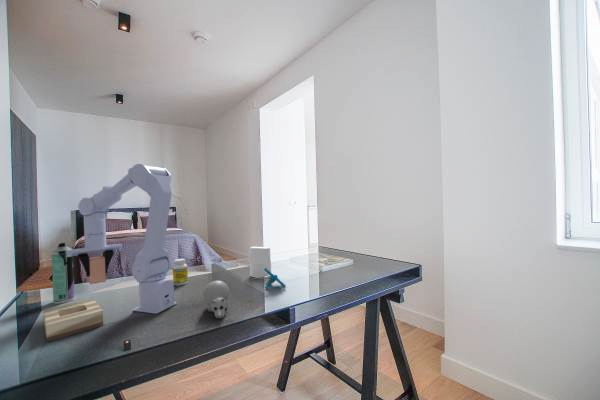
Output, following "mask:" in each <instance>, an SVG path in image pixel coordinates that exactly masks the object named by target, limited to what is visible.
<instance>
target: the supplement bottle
mask: <svg viewBox="0 0 600 400" xmlns="http://www.w3.org/2000/svg"><path fill="white" fill-rule="evenodd" d="M173 263H174V265H173V266H172V277H173V279H172V280H173V281H172V282H173V285H174V286H183V285H186V284H188V282H189V273H188V265H187V264H186V259H185V258H177V259H174V260H173Z"/></svg>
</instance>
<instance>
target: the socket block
mask: <svg viewBox="0 0 600 400" xmlns="http://www.w3.org/2000/svg"><path fill="white" fill-rule="evenodd" d="M42 311H43V326H44V332H45V338H46V342H51V341H54V340H58V339H61V338H65V337H68V336H71V335H74V334H78V333H81V332H85V331H88V330H92V329H95V328H98V327H101V326H104V311H103V309H102V307H101V306H100V305H99V304H98V302H97V301H96V300H95V299H94V298H90V299H84V300H81V301H77V302H73V303H68V304H65V305H59V306H56V307H51V308H47V309H43V310H42Z"/></svg>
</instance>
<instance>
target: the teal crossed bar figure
mask: <svg viewBox="0 0 600 400" xmlns="http://www.w3.org/2000/svg"><path fill="white" fill-rule="evenodd" d="M264 270H265V271H266V272H267V273H268V274H269V275H270V276H269V277H268V280H267V281H266V283H265V284H264V285H266V286H265V287H264V288H265V290H268V289H269V288H270V286H271V285H272V284H274V283H275V282H277V283H278V284H280V285H281V286H282V287H283V288H285V287H286V284H285V283H284V282H283V281H282V280H280V279H279V278H278V275H277V274H274V273H272V271H271V272H270V271H268V270H267V269H266V268H265V269H264Z"/></svg>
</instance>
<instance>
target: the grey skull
mask: <svg viewBox="0 0 600 400" xmlns="http://www.w3.org/2000/svg"><path fill="white" fill-rule="evenodd" d="M229 295H230V289H229V286H228V284H227V283H226V282H224V281H223V280H213V281H211V282H209V283H208V284H207V285H206V286H205V288H204V290H203V299H204V302H205V303H206V304H207V305H206V306H207V307H206V309H207V311H208V312H210V313H214V317H215V318H216V319H218V318H220V319H222V318H224V316H225V314H226V311H225V310H226V309H227V308H228V305H229V304H228V301H227V300H228V298H229V297H230V296H229ZM221 317H222V318H221Z"/></svg>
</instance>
